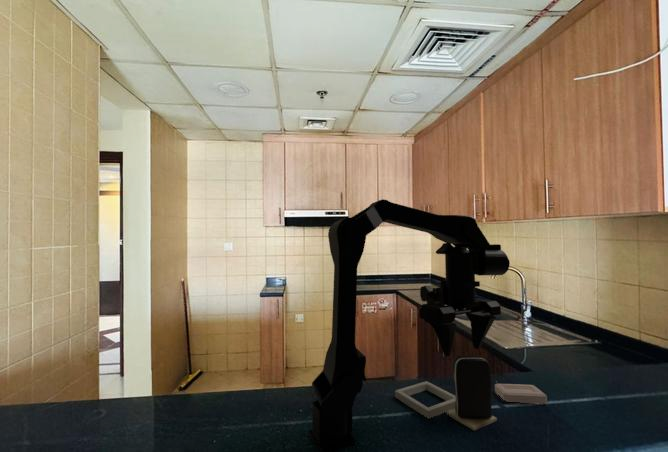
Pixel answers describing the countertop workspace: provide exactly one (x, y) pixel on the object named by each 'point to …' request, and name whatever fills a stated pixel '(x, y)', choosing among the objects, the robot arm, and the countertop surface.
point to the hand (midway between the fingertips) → (462, 351)
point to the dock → (422, 409)
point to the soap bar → (520, 393)
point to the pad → (471, 420)
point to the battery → (472, 386)
